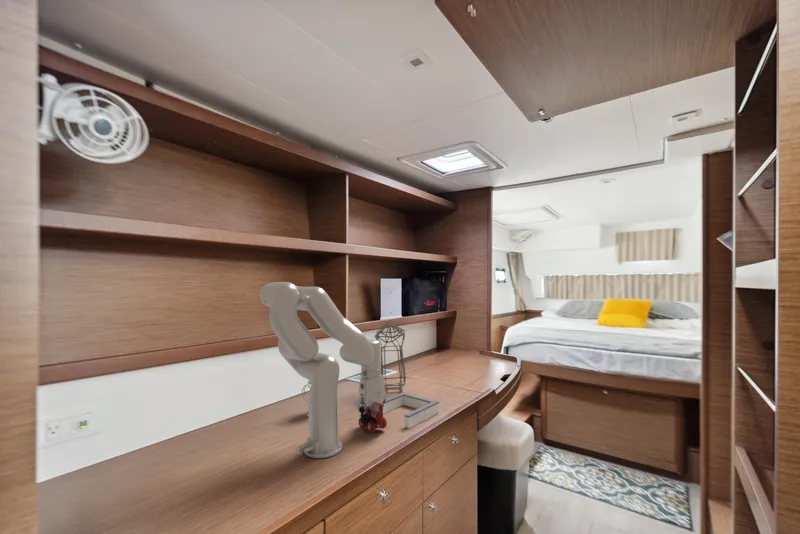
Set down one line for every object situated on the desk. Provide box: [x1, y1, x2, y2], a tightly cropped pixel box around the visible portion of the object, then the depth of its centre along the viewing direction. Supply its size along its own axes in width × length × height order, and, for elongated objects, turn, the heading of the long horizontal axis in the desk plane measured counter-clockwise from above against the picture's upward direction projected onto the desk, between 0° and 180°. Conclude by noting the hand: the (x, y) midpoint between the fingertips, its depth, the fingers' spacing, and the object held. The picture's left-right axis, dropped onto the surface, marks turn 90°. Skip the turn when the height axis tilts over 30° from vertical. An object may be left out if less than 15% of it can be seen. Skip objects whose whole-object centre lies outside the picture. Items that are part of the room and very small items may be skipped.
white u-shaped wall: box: [383, 392, 440, 429], centre depth 146 cm, size 20×20×5 cm
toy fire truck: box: [358, 402, 387, 434], centre depth 131 cm, size 7×12×10 cm, turn 41°
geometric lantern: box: [374, 322, 407, 394], centre depth 178 cm, size 16×16×35 cm
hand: (372, 420), depth 131 cm, fingers closed on toy fire truck, 7 cm apart
